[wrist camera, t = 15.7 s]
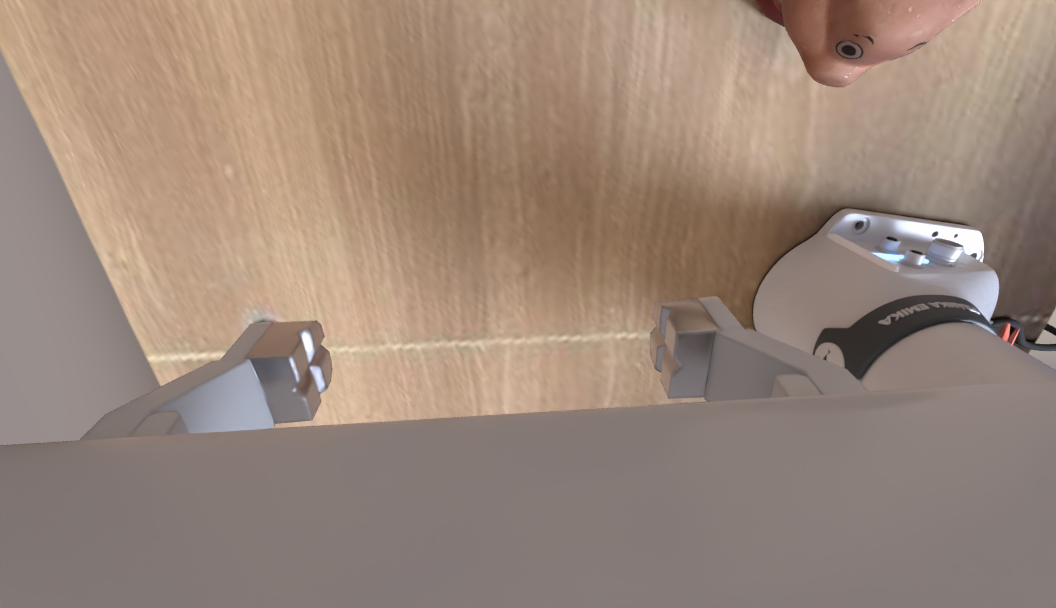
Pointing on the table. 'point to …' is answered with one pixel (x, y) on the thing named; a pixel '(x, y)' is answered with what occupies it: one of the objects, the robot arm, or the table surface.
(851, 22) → the brown clay mug
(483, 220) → the table surface
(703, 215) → the table surface
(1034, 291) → the table surface
